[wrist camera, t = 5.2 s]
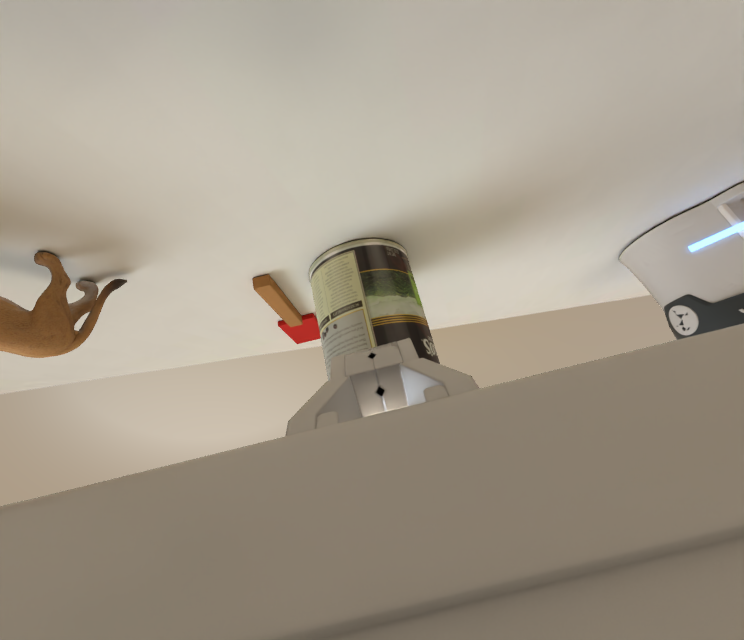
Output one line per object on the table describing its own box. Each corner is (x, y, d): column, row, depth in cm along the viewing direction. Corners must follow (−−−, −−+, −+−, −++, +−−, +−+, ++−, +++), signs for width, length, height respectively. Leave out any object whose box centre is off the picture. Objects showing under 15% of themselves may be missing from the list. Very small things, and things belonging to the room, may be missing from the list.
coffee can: (408, 225, 30) (458, 382, 25) (406, 279, 40) (443, 400, 35) (293, 253, 30) (321, 416, 25) (320, 300, 40) (344, 424, 35)
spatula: (283, 270, 32) (285, 281, 32) (326, 332, 50) (328, 340, 49) (237, 281, 32) (238, 293, 32) (296, 340, 50) (297, 348, 50)
